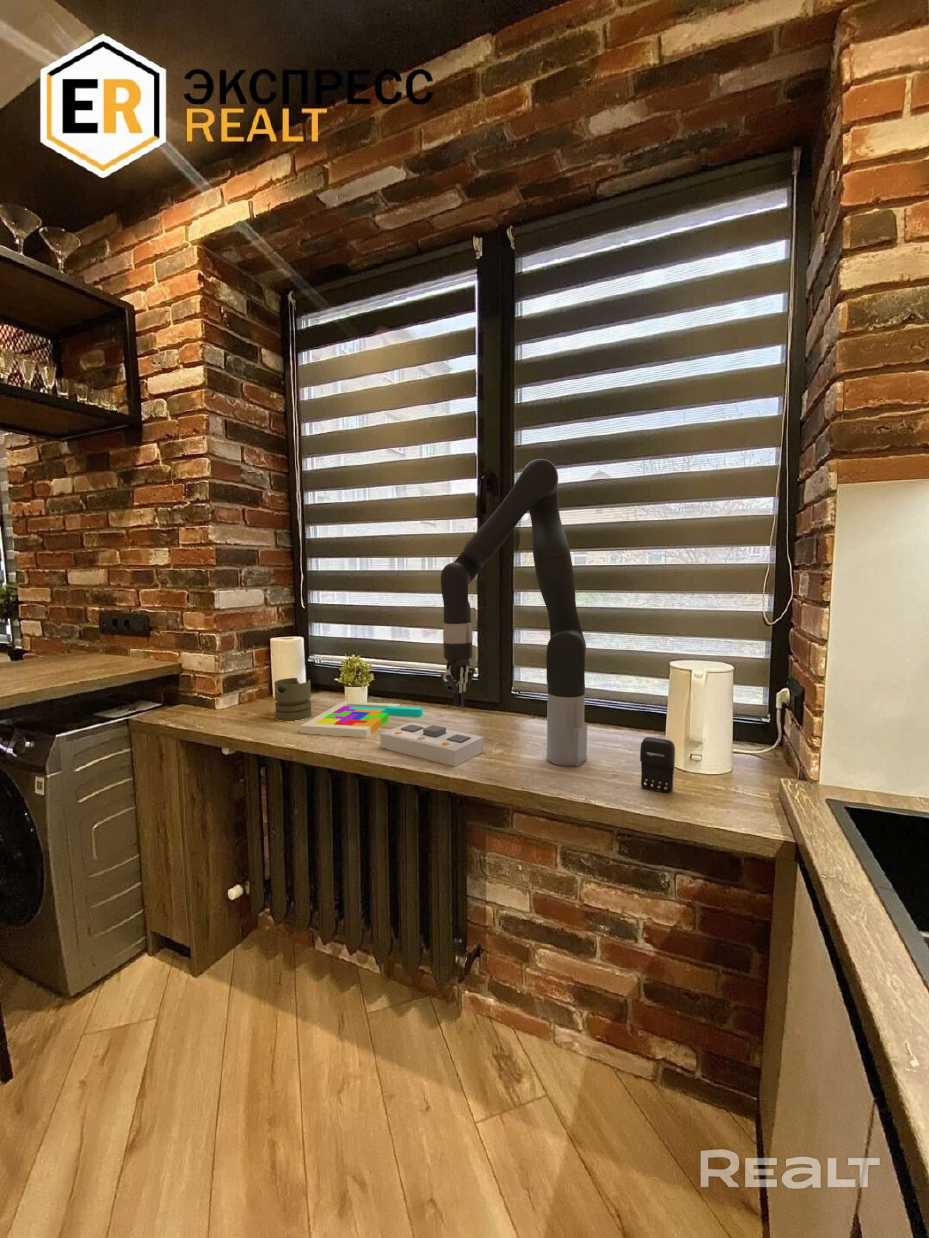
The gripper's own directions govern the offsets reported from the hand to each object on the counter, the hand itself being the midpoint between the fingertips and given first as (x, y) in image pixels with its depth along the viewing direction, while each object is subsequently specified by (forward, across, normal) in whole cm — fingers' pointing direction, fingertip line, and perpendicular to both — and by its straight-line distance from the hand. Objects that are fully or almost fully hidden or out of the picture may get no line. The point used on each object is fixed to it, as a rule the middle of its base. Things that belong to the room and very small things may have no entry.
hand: (459, 706), depth 136 cm
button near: (+11, 0, 0) cm, 11 cm away
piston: (+12, -1, +66) cm, 68 cm away
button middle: (+10, 0, +8) cm, 13 cm away
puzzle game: (+13, +8, +42) cm, 44 cm away
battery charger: (+14, +5, -48) cm, 51 cm away
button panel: (+13, -2, +8) cm, 15 cm away
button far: (+11, 0, +16) cm, 20 cm away
